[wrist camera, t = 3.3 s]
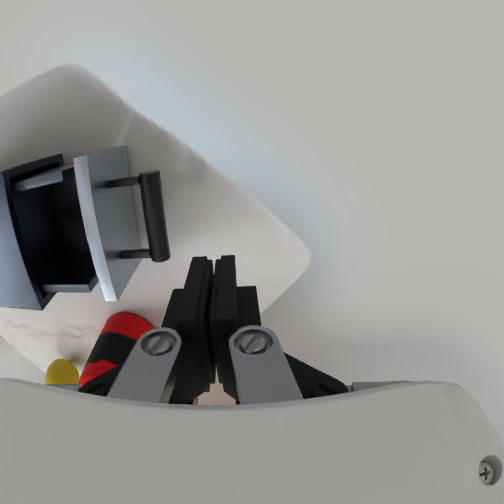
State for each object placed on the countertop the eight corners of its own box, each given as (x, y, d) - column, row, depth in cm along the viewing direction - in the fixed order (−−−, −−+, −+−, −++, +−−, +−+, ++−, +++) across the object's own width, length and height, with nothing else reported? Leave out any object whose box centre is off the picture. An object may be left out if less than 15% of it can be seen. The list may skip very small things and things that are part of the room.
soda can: (125, 300, 30) (90, 376, 19) (171, 338, 33) (156, 417, 22) (97, 328, 31) (64, 397, 21) (139, 361, 34) (120, 431, 23)
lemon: (63, 344, 33) (43, 381, 25) (90, 366, 35) (74, 404, 28) (52, 355, 34) (34, 390, 27) (77, 376, 36) (62, 411, 29)
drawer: (171, 139, 22) (144, 144, 15) (182, 255, 27) (168, 301, 20) (25, 169, 21) (-21, 187, 14) (46, 262, 26) (11, 297, 19)
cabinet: (62, 153, 22) (2, 171, 13) (83, 261, 27) (42, 310, 19) (-13, 178, 21) (-62, 201, 12) (9, 265, 26) (-30, 302, 18)
